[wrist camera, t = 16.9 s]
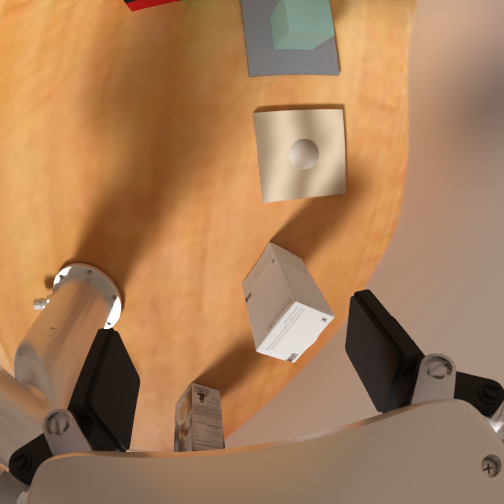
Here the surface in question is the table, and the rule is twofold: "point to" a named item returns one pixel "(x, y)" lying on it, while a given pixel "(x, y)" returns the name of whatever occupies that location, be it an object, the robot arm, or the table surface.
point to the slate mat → (281, 60)
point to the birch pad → (300, 153)
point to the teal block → (301, 24)
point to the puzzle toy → (145, 3)
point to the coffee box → (198, 420)
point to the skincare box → (284, 305)
